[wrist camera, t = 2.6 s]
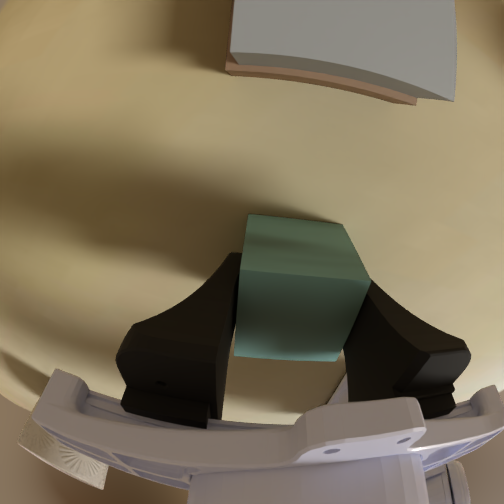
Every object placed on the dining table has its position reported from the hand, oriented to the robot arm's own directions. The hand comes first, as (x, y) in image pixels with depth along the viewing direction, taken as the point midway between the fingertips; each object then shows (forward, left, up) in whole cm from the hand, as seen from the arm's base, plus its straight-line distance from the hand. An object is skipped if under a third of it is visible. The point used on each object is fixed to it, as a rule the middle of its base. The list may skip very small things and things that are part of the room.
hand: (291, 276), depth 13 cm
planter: (-27, +23, -2) cm, 36 cm away
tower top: (+12, 0, +1) cm, 12 cm away
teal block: (0, 0, -1) cm, 1 cm away
